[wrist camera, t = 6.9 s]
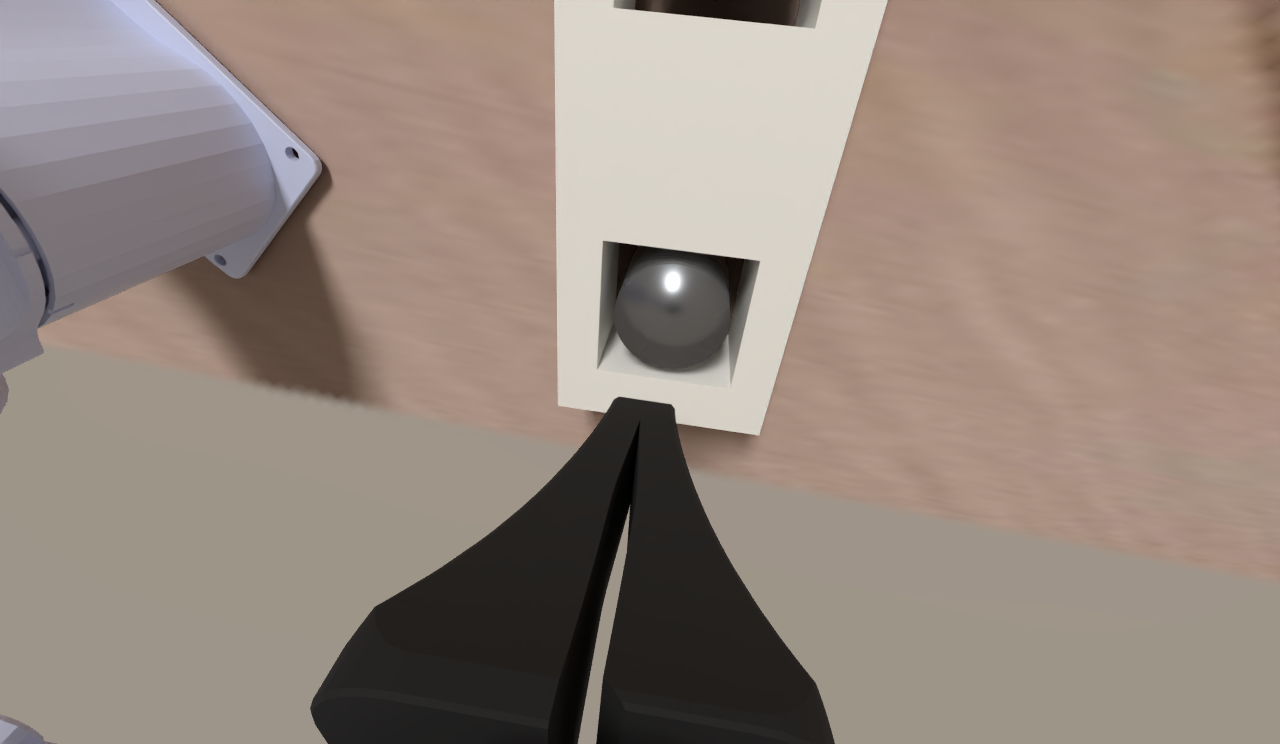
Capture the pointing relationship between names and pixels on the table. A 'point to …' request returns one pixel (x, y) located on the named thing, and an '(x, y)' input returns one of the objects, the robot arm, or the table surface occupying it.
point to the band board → (696, 182)
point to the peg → (673, 306)
